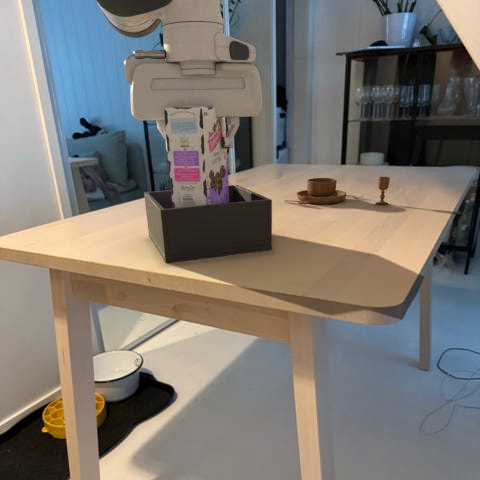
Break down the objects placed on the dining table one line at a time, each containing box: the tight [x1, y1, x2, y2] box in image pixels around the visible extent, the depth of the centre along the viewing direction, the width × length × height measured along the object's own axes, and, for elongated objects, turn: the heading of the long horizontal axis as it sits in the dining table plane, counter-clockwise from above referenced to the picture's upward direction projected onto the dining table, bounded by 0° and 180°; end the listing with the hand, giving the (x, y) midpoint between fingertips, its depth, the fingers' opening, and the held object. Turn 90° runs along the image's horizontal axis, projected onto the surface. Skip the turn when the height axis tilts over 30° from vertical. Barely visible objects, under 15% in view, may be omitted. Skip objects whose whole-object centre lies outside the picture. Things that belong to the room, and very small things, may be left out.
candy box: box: [164, 106, 230, 208], centre depth 74 cm, size 14×6×16 cm, turn 167°
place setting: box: [283, 176, 391, 206], centre depth 108 cm, size 18×20×6 cm
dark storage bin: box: [143, 184, 273, 264], centre depth 78 cm, size 17×17×8 cm
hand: (200, 150), depth 73 cm, fingers closed on candy box, 8 cm apart
